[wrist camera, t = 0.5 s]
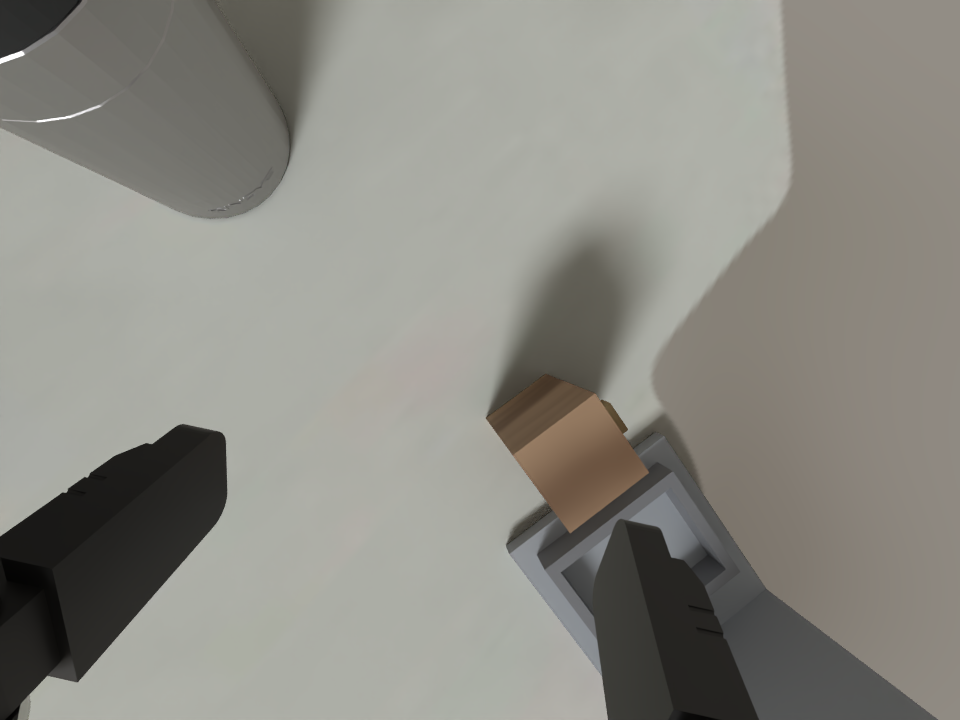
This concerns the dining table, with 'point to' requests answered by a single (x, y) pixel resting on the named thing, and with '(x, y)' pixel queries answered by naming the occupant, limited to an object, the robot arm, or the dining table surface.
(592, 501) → the walnut block
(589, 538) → the grey socket stand
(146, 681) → the dining table surface
